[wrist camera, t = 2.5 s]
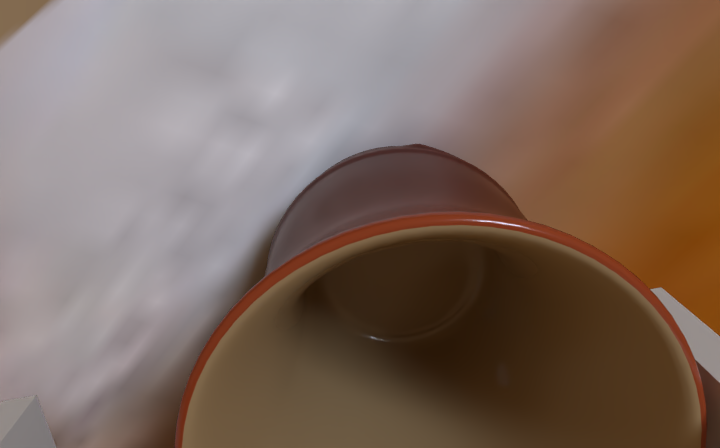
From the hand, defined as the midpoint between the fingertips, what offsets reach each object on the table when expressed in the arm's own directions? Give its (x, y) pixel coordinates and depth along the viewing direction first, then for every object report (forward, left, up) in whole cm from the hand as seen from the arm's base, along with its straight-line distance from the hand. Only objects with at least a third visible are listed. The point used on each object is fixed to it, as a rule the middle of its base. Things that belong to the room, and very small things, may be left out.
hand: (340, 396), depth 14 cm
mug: (0, 0, -7) cm, 7 cm away
